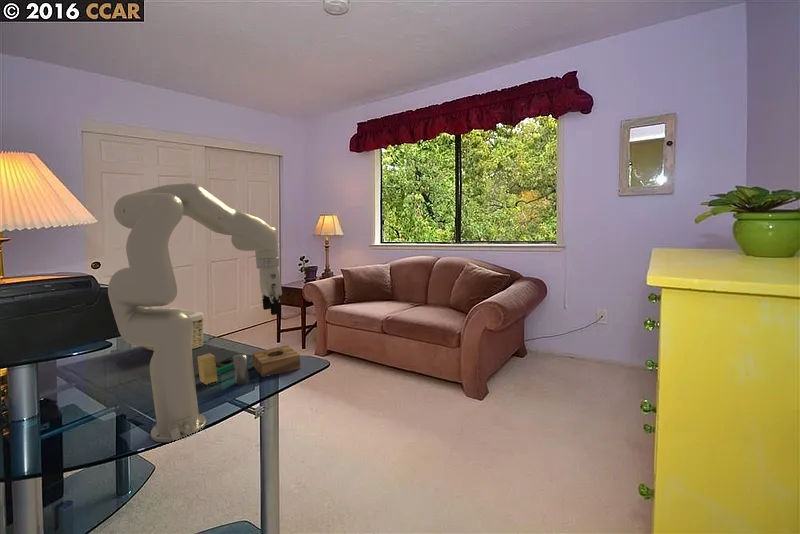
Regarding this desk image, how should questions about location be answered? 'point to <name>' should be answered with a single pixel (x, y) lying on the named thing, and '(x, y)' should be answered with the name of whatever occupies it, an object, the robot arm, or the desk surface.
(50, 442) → the desk surface
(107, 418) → the desk surface
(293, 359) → the bore block
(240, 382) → the cylinder
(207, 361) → the square bit
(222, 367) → the digital multimeter
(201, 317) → the storage basket
